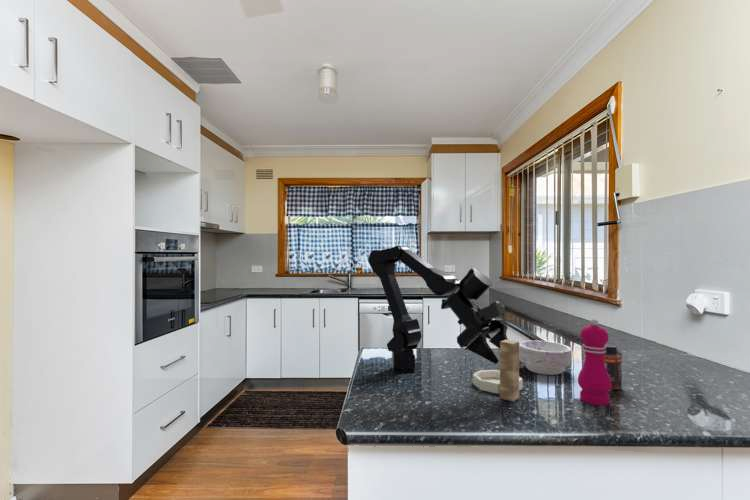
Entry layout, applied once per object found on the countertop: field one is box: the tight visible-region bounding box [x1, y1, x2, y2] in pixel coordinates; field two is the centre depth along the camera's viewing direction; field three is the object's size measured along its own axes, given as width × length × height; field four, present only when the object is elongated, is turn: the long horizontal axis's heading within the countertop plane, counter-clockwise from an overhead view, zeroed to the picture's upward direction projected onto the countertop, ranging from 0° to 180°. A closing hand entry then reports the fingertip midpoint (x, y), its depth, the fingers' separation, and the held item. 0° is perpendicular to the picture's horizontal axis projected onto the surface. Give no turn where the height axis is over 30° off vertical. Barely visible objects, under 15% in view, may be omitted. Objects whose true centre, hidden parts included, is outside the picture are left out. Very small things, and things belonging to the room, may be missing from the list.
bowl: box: [472, 369, 524, 395], centre depth 103 cm, size 12×12×2 cm
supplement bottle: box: [604, 343, 623, 391], centre depth 103 cm, size 6×6×11 cm
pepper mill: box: [577, 318, 612, 407], centre depth 93 cm, size 7×7×20 cm
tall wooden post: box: [499, 339, 520, 402], centre depth 95 cm, size 3×3×14 cm
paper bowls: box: [519, 339, 573, 376], centre depth 118 cm, size 15×15×8 cm
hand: (505, 359), depth 95 cm, fingers open, 9 cm apart
